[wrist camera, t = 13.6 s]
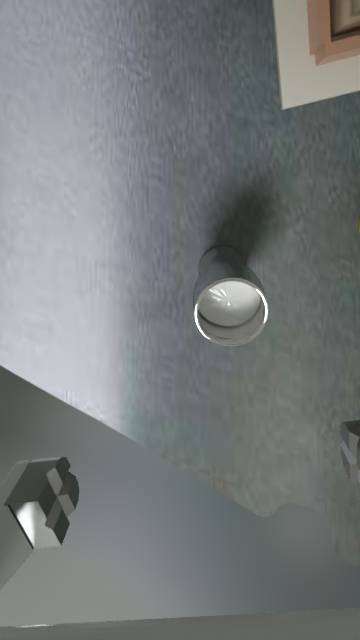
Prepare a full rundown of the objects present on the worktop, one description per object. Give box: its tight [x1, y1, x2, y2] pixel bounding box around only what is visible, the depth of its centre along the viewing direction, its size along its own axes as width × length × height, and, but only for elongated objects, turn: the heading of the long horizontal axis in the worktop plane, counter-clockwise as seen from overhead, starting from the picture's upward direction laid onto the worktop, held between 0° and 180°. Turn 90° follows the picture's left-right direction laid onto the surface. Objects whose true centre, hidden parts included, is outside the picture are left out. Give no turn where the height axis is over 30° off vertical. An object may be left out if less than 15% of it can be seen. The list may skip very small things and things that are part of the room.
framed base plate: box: [272, 0, 360, 111], centre depth 31 cm, size 14×14×4 cm
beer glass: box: [193, 246, 269, 346], centre depth 37 cm, size 7×7×15 cm
